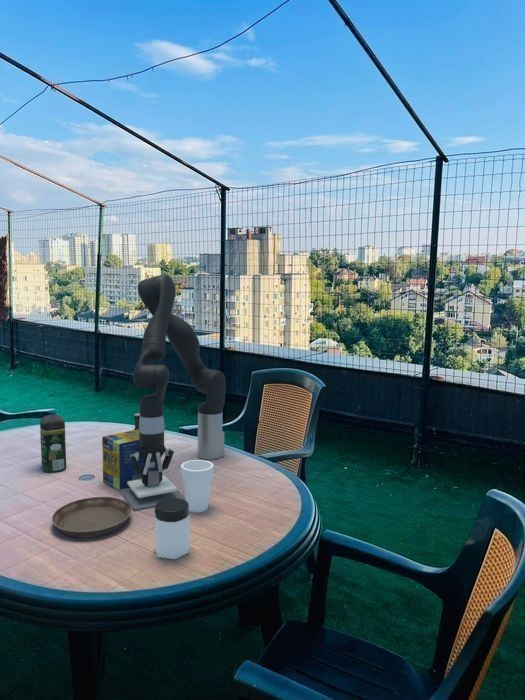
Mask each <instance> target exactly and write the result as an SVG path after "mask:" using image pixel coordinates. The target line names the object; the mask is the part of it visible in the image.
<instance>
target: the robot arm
mask: <svg viewBox="0 0 525 700" xmlns="http://www.w3.org/2000/svg"><path fill="white" fill-rule="evenodd" d="M176 292H177V291H176V284H175V281H174V280H173V278H172V277H171V276H170V275H168V274H165V273H164V274H157V275H155V276H152V277H148V278H145V279H142V280H140V281H139V282H138V284H137V293H138V295H139V298H140V299H141V302H142V303H143V305H144V306H145V307H146V309H147V310H148V311H149V313H150V314H151V316H152V317H151V319H150V320H149V322H148V324H147V325H146V327H145V329H144V333H143V335H142V346H141V353H140V356H139V359H138V360H137V361H138V362H137V363H136V366H135V369H134V371H133V374H132V381H133V384H134V385H135V386H136V387H137V388H140V389H156V392H154V393H150V394H145V395H143V396H141V397H140V399H139V413H140V419H139V449H138V452H137V453H135V454H130V455H129V457H130V460H131V462H132V464H133V466H134V469H135V471H137V473H138V474H140V473H141V479H142V480H141V481H142V483H143V484H144V485H145V486H147V485H148V484H147V470H148V467H149V464H150V463H152V462H155V464H156V467H157V468H158V469H159V483H161V481H162V476H163V471H164V470H168V469H169V467H170V464H171V461H172V459H173V456H174V453H175V452H174V450H172V448H166V446H165V417H164V398H165V395H166V390H167V386H168V383H169V380H170V375H171V374H170V370H169V369H168V367H167V365H165V364H153V363H157V362H160V361H162V360H163V359H164V358H165V355H166V347H167V346H166V344H167V343H166V342H167V339H168V341H169V343H170V344H171V346H172V348H173V350H174V351H175V352H176V354H177V356H178V357H179V359H180V361H181V363H182V365H183V366H184V368H185V369H186V371H187V374H188V375H189V378H190V380H191V383H192V385H193V387H194V388H195V389H196V390H197V391H198V392H200V393H202V394H206V400H205V401H204V402H201V403H199V404H198V405H197V457H198V458H199V459H200V460H205V461H209V460H218V459H220V458H222V457H225V431H223V409H224V405H225V402H226V388H227V387H226V386H227V385H226V384H227V380H226V377H225V374H224V373H223V372H222V371H220V370H216V369H211V368H208V367H206V366H205V364H204V363H203V361H202V359H201V356H200V348H201V345H200V340H199V337H198V336H197V334H196V332H195V330H194V329H193V327H192V326H191V324H190V323H188V322H187V321H185V319H183V318H181V317H179V316H178V315H176V314H174V313H173V312H172V311H173V307H174V305H175V304H174V303H175V299H176ZM163 455H164V459H163V461H162V457H163ZM138 456H140V457H141V458H142V467H141V468H140V467H139V465H138V462H137V460H138Z"/></svg>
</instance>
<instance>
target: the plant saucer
mask: <svg viewBox="0 0 525 700" xmlns="http://www.w3.org/2000/svg"><path fill="white" fill-rule="evenodd" d="M132 510H133V509H132V508H131V506H130V505H129V504H128V502H127V501H126V500H123V499H120V498H116V497H111V496H95V497H94V496H93V497H85V498H81V499H78V500H74V501H71V502H69V503H67V504H64V505H63V506H61V507H59V508H58V509H57V510H55V511H54V513H53V514H52V517H51V521H52V523H53V525H54V526H55V528H56V529H57V530H59V531H60V532H62V533H63V534H64V535H65V534H66V536H70V537H74V538H94V537H101V536H104V535H107V534H109V533H111V532H114V531H115V530H117V529H119V528H120V527H122V526H123V524H124V523H125V522H126V521H127V520H128V519H129V518H130V516H131V514H132Z"/></svg>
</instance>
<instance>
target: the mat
mask: <svg viewBox="0 0 525 700" xmlns="http://www.w3.org/2000/svg"><path fill="white" fill-rule="evenodd" d="M119 490H120V491H119ZM119 490H118V491H119V492H120V494H121V495H122V496H123V498H124V499H125V502H127V503H128V504H129V505H130V506H131V509H132V510H133V512H137V511H142V510H146V509H151V508H155V505H156V504H157V503H158V502H159V501H161V500H164V499H168V498H179V499H183V500H185V495H184V494H182V493H181V492H180V491H179V490H178V489H177V491H175V492H169V493H164V494H158V495H153V496H148V497H142V498H138V497H137V496H136V494H135V493H134V492H133V491H132V489H131V488H125V489H119Z"/></svg>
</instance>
